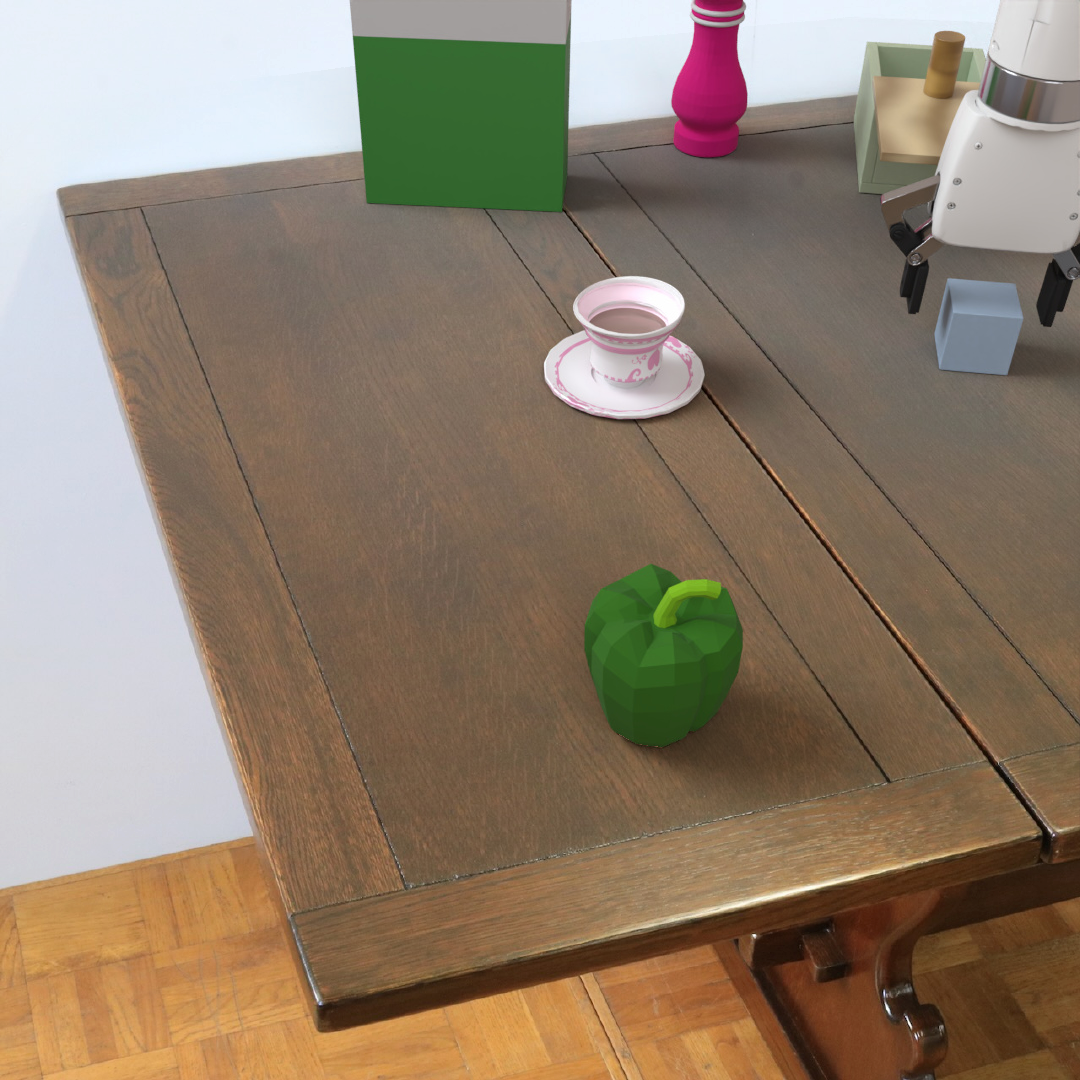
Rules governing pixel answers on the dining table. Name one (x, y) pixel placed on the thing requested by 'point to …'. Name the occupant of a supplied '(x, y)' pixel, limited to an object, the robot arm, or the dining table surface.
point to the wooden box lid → (921, 105)
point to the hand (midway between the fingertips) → (977, 311)
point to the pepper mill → (711, 82)
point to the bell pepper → (662, 653)
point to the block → (978, 326)
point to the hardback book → (464, 101)
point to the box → (876, 63)
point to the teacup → (625, 352)
